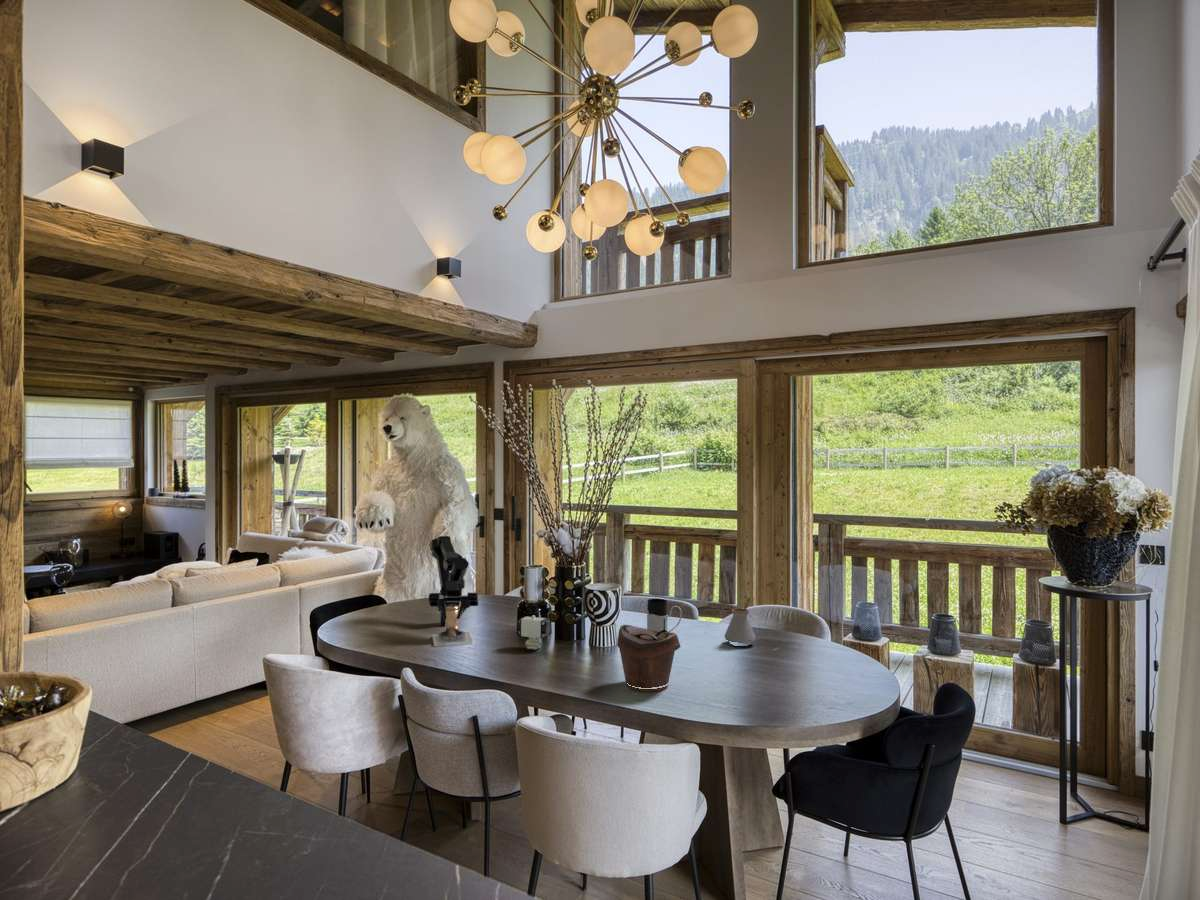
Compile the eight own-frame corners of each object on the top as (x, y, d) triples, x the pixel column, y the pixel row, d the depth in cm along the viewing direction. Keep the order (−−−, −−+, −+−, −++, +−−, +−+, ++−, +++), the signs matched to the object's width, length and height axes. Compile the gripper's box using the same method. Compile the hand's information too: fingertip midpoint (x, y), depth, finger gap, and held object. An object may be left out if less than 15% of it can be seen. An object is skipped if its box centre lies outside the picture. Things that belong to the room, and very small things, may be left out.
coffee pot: (751, 650, 251) (751, 609, 251) (720, 646, 256) (720, 605, 256) (764, 636, 270) (764, 598, 271) (735, 633, 275) (735, 595, 276)
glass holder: (650, 635, 271) (650, 597, 271) (685, 640, 265) (685, 601, 265) (642, 641, 263) (642, 601, 263) (677, 645, 257) (677, 605, 257)
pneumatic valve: (545, 651, 248) (545, 618, 248) (516, 648, 252) (516, 615, 252) (551, 647, 253) (551, 614, 253) (522, 644, 257) (522, 612, 257)
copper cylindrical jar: (444, 633, 265) (444, 605, 265) (458, 632, 266) (458, 604, 266) (445, 637, 260) (445, 608, 260) (459, 636, 261) (459, 607, 261)
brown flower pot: (690, 691, 206) (689, 631, 206) (627, 698, 200) (626, 636, 201) (667, 674, 223) (667, 619, 224) (608, 680, 217) (608, 623, 218)
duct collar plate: (432, 636, 268) (432, 630, 268) (468, 634, 271) (468, 628, 271) (434, 646, 254) (434, 639, 254) (472, 643, 258) (472, 636, 258)
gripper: (429, 572, 266) (424, 607, 255) (478, 571, 268) (475, 606, 257) (432, 588, 274) (427, 623, 263) (479, 588, 275) (476, 622, 264)
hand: (451, 618), depth 262 cm, fingers closed on copper cylindrical jar, 5 cm apart
